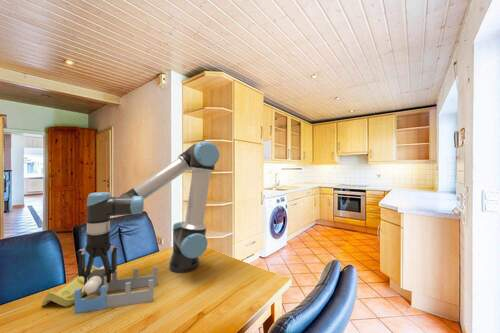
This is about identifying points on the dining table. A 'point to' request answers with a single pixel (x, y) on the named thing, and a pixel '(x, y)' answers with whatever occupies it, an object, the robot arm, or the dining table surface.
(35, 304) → the dining table surface
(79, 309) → the blue peg rack
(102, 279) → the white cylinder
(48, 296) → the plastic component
